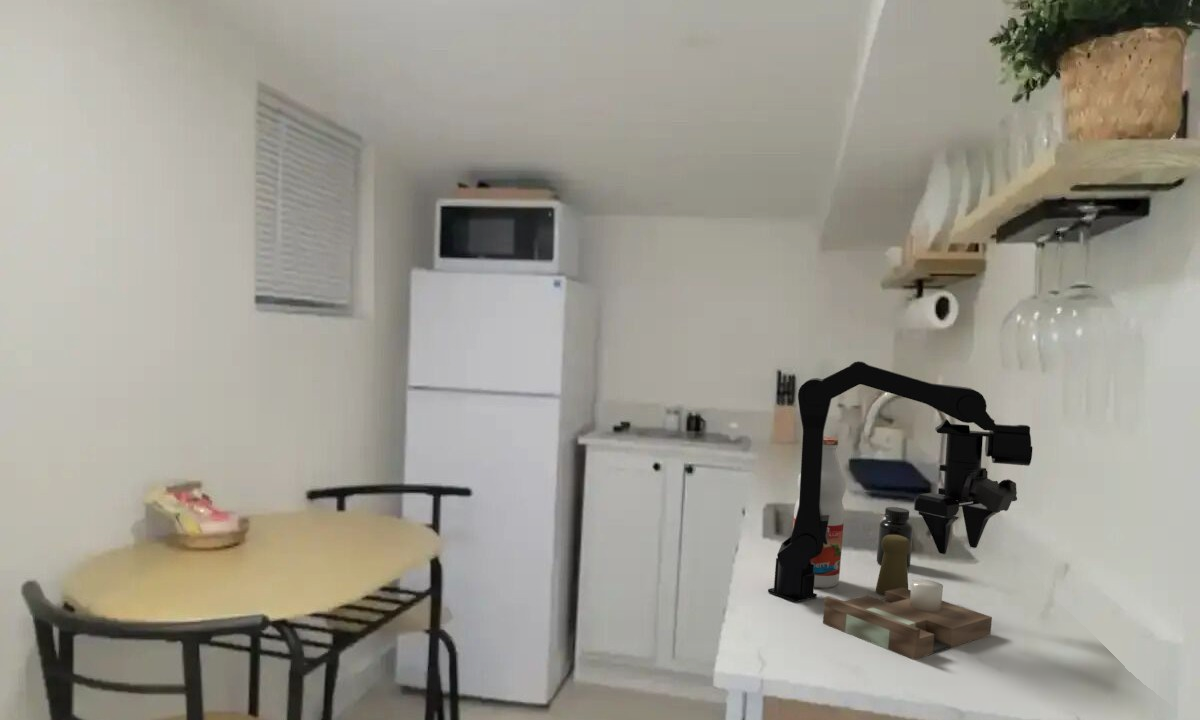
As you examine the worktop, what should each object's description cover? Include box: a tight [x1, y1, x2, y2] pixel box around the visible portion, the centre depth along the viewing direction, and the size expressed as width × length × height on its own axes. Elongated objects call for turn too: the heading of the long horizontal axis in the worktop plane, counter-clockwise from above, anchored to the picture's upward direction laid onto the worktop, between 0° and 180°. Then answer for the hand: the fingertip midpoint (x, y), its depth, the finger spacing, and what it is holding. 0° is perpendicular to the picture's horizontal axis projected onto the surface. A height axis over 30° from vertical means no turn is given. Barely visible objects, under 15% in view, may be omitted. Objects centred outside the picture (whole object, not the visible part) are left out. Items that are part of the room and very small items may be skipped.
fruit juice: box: [792, 436, 847, 589], centre depth 167 cm, size 9×9×28 cm
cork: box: [874, 535, 911, 597], centre depth 162 cm, size 6×6×11 cm
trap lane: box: [822, 588, 993, 660], centre depth 143 cm, size 17×22×4 cm
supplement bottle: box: [876, 506, 914, 569], centre depth 183 cm, size 7×7×12 cm
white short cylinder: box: [910, 578, 944, 612], centre depth 146 cm, size 5×5×4 cm
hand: (958, 550), depth 149 cm, fingers open, 9 cm apart
